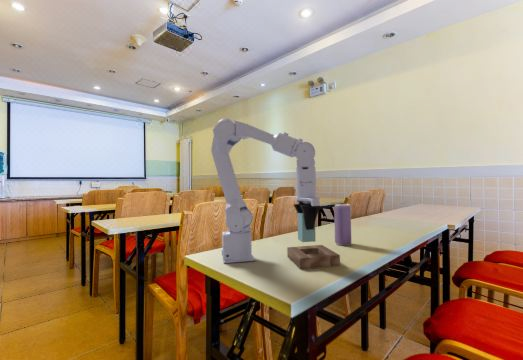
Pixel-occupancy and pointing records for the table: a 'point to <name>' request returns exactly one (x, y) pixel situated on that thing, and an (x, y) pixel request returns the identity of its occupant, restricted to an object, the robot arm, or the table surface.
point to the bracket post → (304, 230)
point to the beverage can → (342, 224)
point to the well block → (313, 256)
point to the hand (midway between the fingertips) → (307, 227)
